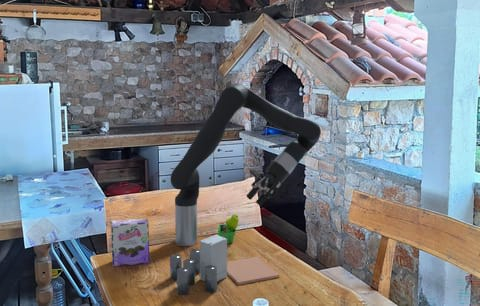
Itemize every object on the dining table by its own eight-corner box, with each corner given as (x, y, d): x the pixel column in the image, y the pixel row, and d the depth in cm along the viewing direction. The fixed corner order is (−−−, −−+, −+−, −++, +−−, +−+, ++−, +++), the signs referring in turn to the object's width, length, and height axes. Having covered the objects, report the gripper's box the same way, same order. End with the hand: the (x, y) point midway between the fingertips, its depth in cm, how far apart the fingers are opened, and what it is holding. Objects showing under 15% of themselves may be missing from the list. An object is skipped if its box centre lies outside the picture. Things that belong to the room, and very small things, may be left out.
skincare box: (216, 272, 174) (216, 233, 172) (228, 277, 170) (228, 237, 168) (199, 279, 168) (198, 239, 166) (210, 285, 164) (210, 244, 162)
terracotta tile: (219, 265, 181) (219, 263, 181) (257, 259, 187) (257, 256, 187) (238, 285, 164) (238, 282, 164) (279, 277, 171) (279, 274, 171)
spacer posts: (164, 274, 172) (164, 253, 171) (199, 268, 178) (198, 248, 176) (181, 298, 154) (180, 275, 153) (218, 291, 159) (218, 269, 158)
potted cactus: (219, 235, 214) (219, 210, 212) (239, 235, 214) (239, 211, 212) (217, 244, 203) (217, 218, 201) (238, 244, 203) (238, 219, 201)
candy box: (112, 267, 178) (110, 224, 176) (112, 261, 184) (110, 220, 181) (149, 263, 182) (148, 222, 179) (148, 257, 188) (147, 217, 185)
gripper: (266, 157, 178) (238, 190, 175) (284, 163, 165) (254, 199, 162) (279, 169, 181) (251, 202, 178) (298, 177, 168) (268, 212, 165)
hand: (252, 201), depth 170 cm, fingers open, 8 cm apart
